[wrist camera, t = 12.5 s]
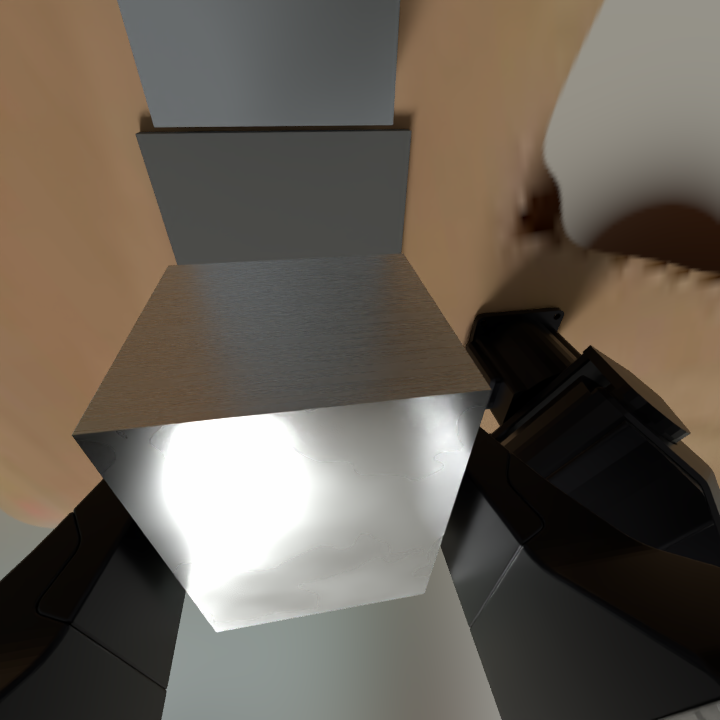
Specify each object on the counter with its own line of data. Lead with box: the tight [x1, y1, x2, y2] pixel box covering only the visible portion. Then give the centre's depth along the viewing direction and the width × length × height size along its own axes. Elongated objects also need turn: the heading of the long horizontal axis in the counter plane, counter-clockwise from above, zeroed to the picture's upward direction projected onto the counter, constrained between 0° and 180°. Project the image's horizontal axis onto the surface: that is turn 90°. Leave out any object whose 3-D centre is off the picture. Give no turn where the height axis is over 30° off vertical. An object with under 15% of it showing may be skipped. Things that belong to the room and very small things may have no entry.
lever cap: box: [72, 253, 492, 632], centre depth 8 cm, size 5×7×4 cm
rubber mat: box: [136, 129, 411, 265], centre depth 19 cm, size 12×9×1 cm
